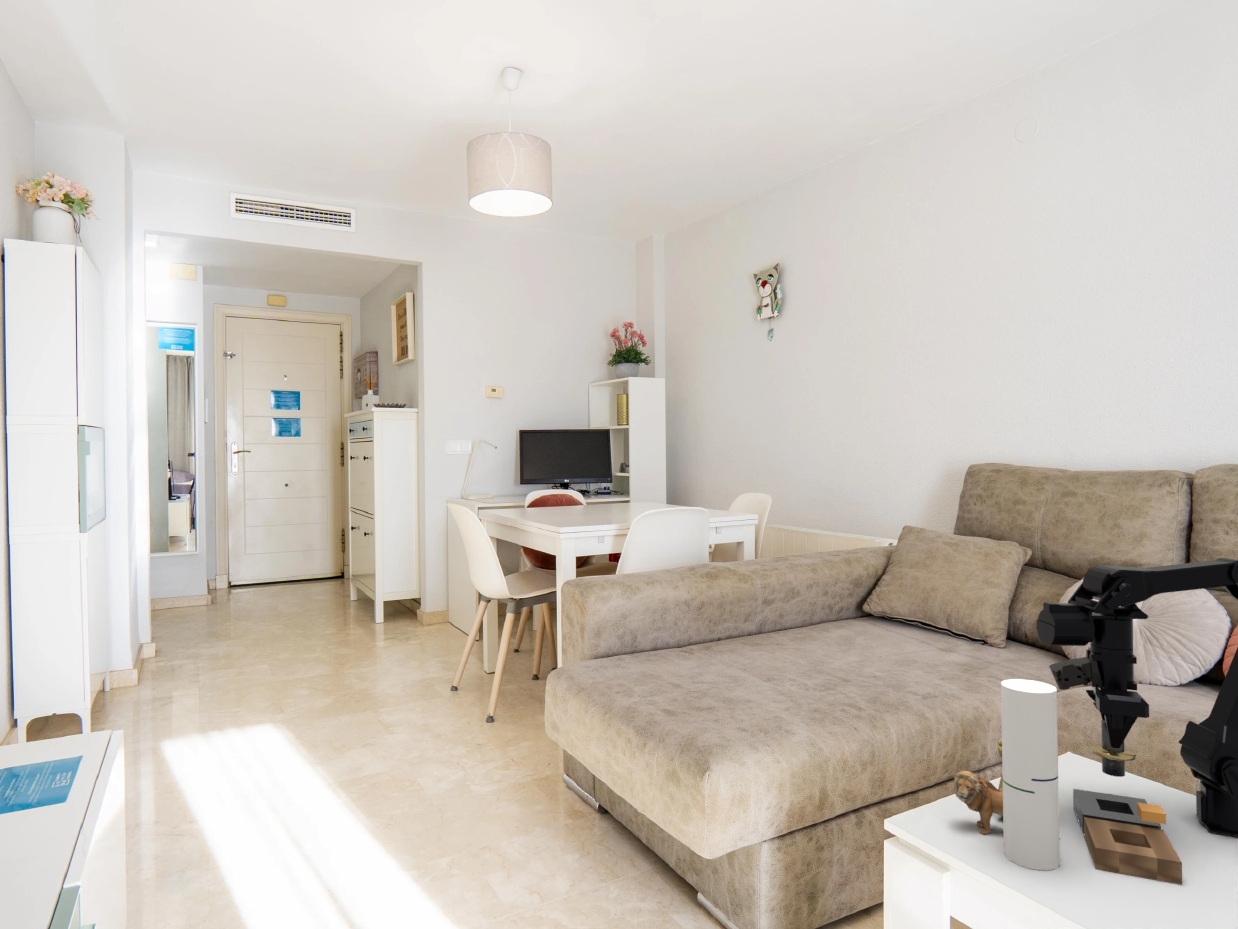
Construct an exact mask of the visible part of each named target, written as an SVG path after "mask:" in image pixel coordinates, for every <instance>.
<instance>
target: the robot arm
mask: <svg viewBox="0 0 1238 929" xmlns="http://www.w3.org/2000/svg"><path fill="white" fill-rule="evenodd" d="M1221 587H1223V588H1224V589H1225V590H1226V592H1227V593H1228V595H1229V596H1230V597H1232V598H1234V599H1235V600H1236V601H1238V559H1234V558H1229V557H1219V558H1217V559H1215V560H1214V559H1212V560H1204V561H1203V560H1202V561H1196V562H1194V561H1193V562H1189V563H1188V562H1187V563H1186V562H1185V563H1179V564H1178V563H1177V564H1176V563H1175V564H1170V565H1161V566H1159V565H1158V566H1152V567H1134V566H1133V567H1129V566H1124V565H1123V566H1121V565H1106V564H1102V565H1101V564H1096V565H1093V566H1090V567H1089V568H1087V571H1086V572H1085V573H1084V577H1083V579H1082V581H1081V584H1080V585H1079V586H1078V587H1077V589H1076V591H1074V593H1073V594H1072V595H1071V597H1070V598H1069V599H1068V601H1067V602H1066V603H1065V602H1064V603H1063V602H1062V603H1058V602H1052V601H1044V602H1043V603H1042V604H1043V606H1042V607H1043V608H1042V610H1040V612H1039V614H1038V617H1037V619H1036V622H1035V624H1036V632H1037V636H1038V639H1039V640H1040V641H1041V643H1042V644H1043V645H1044V646H1047V647H1048V646H1050V647H1051V646H1052V647H1054V646H1056V647H1057V646H1059V647H1060V646H1061V647H1062V646H1063V647H1068V646H1069V647H1071V646H1072V647H1076V646H1077V647H1085V646H1087V645H1088V644H1089V643H1090V644H1089V645H1090V647H1088V648H1087V649H1086V650H1085V657H1079V658H1073V659H1068V660H1063V661H1059V662H1055V663H1051V664H1049V666H1048V667H1049V669H1050V672H1051V674H1052V676H1053V678H1054V679H1053V680H1054V681H1055V683H1056V685H1057V688H1058V690H1060V691H1061V690H1063V691H1064V690H1068V689H1070V688H1072V687H1073V688H1074V687H1077V686H1081V685H1083V686H1085V687H1086V686H1088V684H1090V686H1091V689H1086V690H1085V692H1086V693H1087V696H1088V697H1089V698H1090V699H1091V700H1093V702H1092V704H1093V705H1094V708H1096V709H1097V710H1098V712H1099V714H1100V718H1101V720H1103V719H1105V721H1106V726H1107V730H1108V735H1109V740H1110V744H1111V747H1112V748H1120V747H1121V745H1122V743H1123V741H1124V742H1125V739H1126V738H1127V737H1128V734H1129V733H1130V731H1131V729H1132V727H1133V726H1134V724H1135V722H1136V721H1137V719H1138V718H1142V719H1143V718H1144V719H1147V718H1150V704H1149V703H1148V701H1146V699H1145V697H1143V696H1142V695H1141V694H1139V692H1137V691H1138V683H1137V682H1136V681H1135V668H1134V666H1135V665H1137V662H1138V659H1137V656H1136V655H1135V654H1134V620H1147V619H1148V618H1149V615H1148V614H1147V613H1145V612H1144V611H1143V610H1142V609H1140V607H1139V606H1138V605H1137V604H1138V603H1141V602H1145V601H1147V600H1148V599H1150V598H1152V597H1153V596H1157V595H1160V594H1167V593H1175V592H1185V591H1195V590H1203V589H1205V590H1206V589H1210V588H1211V589H1212V588H1221ZM1096 600H1097V601H1096ZM1178 744H1180V745H1181V747H1180V749H1179V750H1180V751H1179V752H1180V756H1181V758H1182V760H1183V762H1184V764H1185V765H1186V766H1187V767H1188V768H1189V769H1190V772H1191V774H1192V776H1193V778H1195V779H1197V780H1200V781H1199V783H1200V784H1199V787H1200V788H1199V790H1196V791H1195V793H1196V794H1195V799H1196V800H1195V801H1196V802H1195V804H1196V817H1197V818H1198V820H1200V822H1201V824H1203V826H1204V827H1205V828H1206V830H1207V831H1208V832H1210V833H1212V834H1213V833H1214V834H1220V835H1225V836H1226V835H1227V836H1232V837H1233V836H1234V837H1238V646H1237V648H1236V650H1235V653H1234V655H1233V658H1232V660H1231V663H1230V665H1229V667H1228V670H1227V672H1226V674H1225V677H1224V679H1223V682H1222V685H1221V686H1220V689H1219V692H1218V694H1217V696H1216V699H1215V701H1214V704H1213V706H1212V708H1211V712H1210V714H1209V715H1208V717H1207V718H1206V719H1204V720H1203V721H1201V722H1199V723H1196V722H1194V721H1192V720H1189V721H1188V722H1187V724H1186V725H1185V730H1184V733H1183V736H1182V738H1180V740H1179V741H1178Z"/></svg>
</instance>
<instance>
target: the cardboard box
mask: <svg viewBox="0 0 1238 929" xmlns="http://www.w3.org/2000/svg"><path fill="white" fill-rule="evenodd" d="M1137 813H1138V815H1139V816H1140V818H1141V820H1142V821H1147V822H1153V823H1159V824H1160V825H1167V814H1166V811H1165V810H1164V808H1163V807H1162V806H1161V805H1157V804H1153V803H1148V804H1145V803H1138V802H1137Z"/></svg>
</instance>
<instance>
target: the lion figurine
mask: <svg viewBox="0 0 1238 929" xmlns="http://www.w3.org/2000/svg"><path fill="white" fill-rule="evenodd" d="M953 778H954V782H953V787H952V788H953V793H954V794H955V797H956V798H958V800H959V801H960V802H963V803H964V804H965V805H966V806H967V808H968V809H969V810H971V811H974V812H976V813H977V812H978V813H979V818H980V820H977V821H976V826H978V827H983V828H980V829H979V833H980V834H982V835H989V834H990V831H991V818H992V816H993V814H995V815H998V816H1001V817H1002V816H1003V791H1000V790H999V789H998V788H997V787H996V786H994V784H993V783H992V782H991V781H988V780H986V779H985V778H982V777H981V776H980V774H977V773H974V772H972V771H970V770H969V771H968V770H960V771H959V772H957V773H954V776H953ZM1059 841H1061V837H1059Z"/></svg>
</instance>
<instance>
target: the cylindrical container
mask: <svg viewBox="0 0 1238 929" xmlns="http://www.w3.org/2000/svg"><path fill="white" fill-rule="evenodd" d="M1057 691H1058V690H1057V687H1056V686H1054V685H1052V684H1050V683H1047V682H1043V681H1039V680H1032V679H1023V678H1010V679H1009V678H1008V679H1004V680H1001V681H1000V699H1001V701H1000V702H1001V703H1000V704H1001V737H1002V757H1001V760H1002V761H1001V762H1002V763H1001V764H1002V766H1001V767H1002V774H1003V817H1002V821H1003V823H1002V825H1003V827H1002V828H1003V854H1004V856H1005V857H1006V858H1007V859H1008V860H1009V861H1011V862H1013V863H1014V864H1017V865H1018V866H1021V867H1024V868H1027V869H1031V870H1035V871H1036V870H1037V871H1052V870H1055V869H1057V868H1059V867H1060V864H1061V861H1060V860H1061V859H1060V858H1061V857H1060V854H1061V853H1060V852H1061V850H1060V840H1059V838H1060V811H1059V810H1060V808H1059V807H1060V804H1059V803H1060V802H1059V800H1060V798H1059V752H1058V751H1059V750H1058V745H1059V743H1058V740H1059V739H1058V694H1057V693H1058V692H1057Z"/></svg>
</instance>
